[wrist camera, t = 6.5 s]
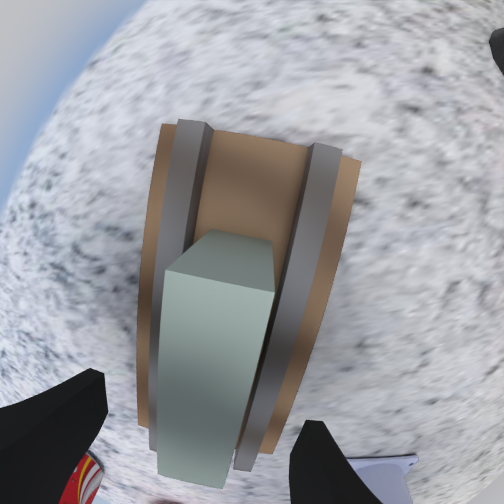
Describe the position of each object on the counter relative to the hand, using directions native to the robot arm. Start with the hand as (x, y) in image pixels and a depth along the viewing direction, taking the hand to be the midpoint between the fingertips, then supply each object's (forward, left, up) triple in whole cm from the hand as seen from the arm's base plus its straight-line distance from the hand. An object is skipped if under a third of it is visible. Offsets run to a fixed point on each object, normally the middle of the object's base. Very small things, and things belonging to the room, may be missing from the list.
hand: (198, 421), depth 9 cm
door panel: (0, 0, -7) cm, 7 cm away
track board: (0, 0, -8) cm, 8 cm away
